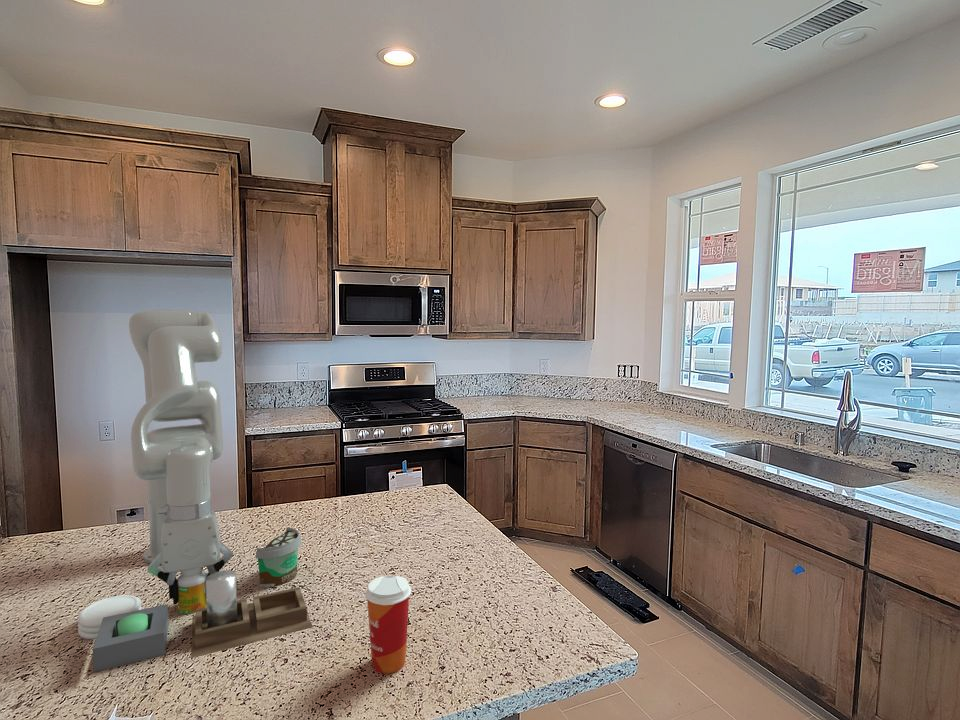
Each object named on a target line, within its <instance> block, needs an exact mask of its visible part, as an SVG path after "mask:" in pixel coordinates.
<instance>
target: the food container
mask: <svg viewBox="0 0 960 720" xmlns="http://www.w3.org/2000/svg"><path fill="white" fill-rule="evenodd" d="M301 546H302V537H301V535H300V533H299V531H298V530H297V529H295V528H291V527H286V529H285V532H283V533H282V534H281V535H279V536H277V537H275V538H273V539H272V540H271V541H270V542H269V543H268V544H266V545H265V546H264V547H256V551H255V559H257V566H258V575H259V584H260V588H272V587H273V588H274V587H277V586H282V585H284V584H287V583H289V582H291V581H293V579H295V578H296V576H297V574H298V562H299V561H298V559H299V548H300V547H301Z"/></svg>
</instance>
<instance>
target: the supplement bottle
mask: <svg viewBox="0 0 960 720" xmlns="http://www.w3.org/2000/svg"><path fill="white" fill-rule="evenodd" d="M207 573H208V572H207V571H205V570H204V567H201V568H196V569H190V570H185V571H180V575H179V576H178V578H176V579H177V594H178V603H177V611H178V613H180V614H184V615H191V614H196V610H197V609H202V608H206V607H207V600H206V578H207Z"/></svg>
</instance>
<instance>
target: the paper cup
mask: <svg viewBox="0 0 960 720" xmlns="http://www.w3.org/2000/svg"><path fill="white" fill-rule="evenodd" d="M409 584H410V583H409V581H408V580H407V579H406V578H405V577H403V576H400V575H395V576H393V575H387V576H384V575H383V576H382V575H381V576H379V577H377V578H374V579H372V580H371V581H370V582H369V583H368V585H367V589H366V590H365V598H366V600H367V611H368V628H369V630H368V631H369V642H370V644H369V645H370V655H371V664H372V668H373V670H374V671H375V672H377V673H379V674H382V675H383V674H384V675H390V674H394V673H397V672H399V671H400V670H402V669H403V668H404V666H405V663H406V657H407V655H406V654H407V642H408V639H407V638H408V627H409V625H408V623H409V606H410V605H409V604H410V595H412V594H411V593H412V587H411V586H410V585H409Z"/></svg>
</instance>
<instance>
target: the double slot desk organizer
mask: <svg viewBox="0 0 960 720" xmlns="http://www.w3.org/2000/svg"><path fill="white" fill-rule="evenodd" d="M252 601H253V602H251V603H248V600H247V598H243V599H239V600H237V622H234V623H230V624H226V625H222V626H217V627H213V628H209V629H208V628H207V607H206V608H202V609H197V610H196V612H195V615H193V616H192V632H191V650H190V651H191V655H190V659H193V658H198V657H202V656H205V655H209V654H214V653H217V652H222V651H225V650H230V649H233V648H237V647H240V646H245V645H249V644H252V643H256V642H260V641H264V640H268V639H272V638H275V637H281V636H284V635H288V634H292V633H295V632H300V631H303V630H307V629H311V628H313V624H312V621H311V618H310V615H309V612H308V608H307V605H306V602H305V599H304V596H303V593H302V590H301V588H300V587H299V586H298V587H294V588H289V589H285V590H280V591H275V592H271V593H267V594H261V595H257V596H253V597H252Z"/></svg>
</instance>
